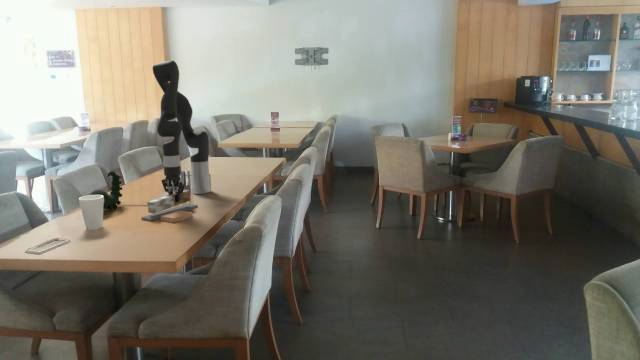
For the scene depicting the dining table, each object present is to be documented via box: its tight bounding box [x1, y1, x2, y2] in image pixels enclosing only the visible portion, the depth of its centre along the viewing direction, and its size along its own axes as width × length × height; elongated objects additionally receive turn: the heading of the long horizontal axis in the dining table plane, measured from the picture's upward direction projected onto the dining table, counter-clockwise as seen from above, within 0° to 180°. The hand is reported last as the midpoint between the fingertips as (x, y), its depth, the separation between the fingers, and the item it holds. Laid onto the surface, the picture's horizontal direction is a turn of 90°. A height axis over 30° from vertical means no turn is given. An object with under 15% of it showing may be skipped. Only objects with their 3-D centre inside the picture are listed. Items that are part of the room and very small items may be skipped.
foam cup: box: [78, 194, 104, 231], centre depth 213 cm, size 10×9×13 cm
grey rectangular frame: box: [24, 237, 71, 255], centre depth 191 cm, size 7×1×15 cm
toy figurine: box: [89, 170, 123, 211], centre depth 240 cm, size 9×19×25 cm
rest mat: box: [141, 203, 199, 222], centre depth 236 cm, size 28×6×1 cm, turn 148°
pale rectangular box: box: [146, 189, 191, 214], centre depth 234 cm, size 22×3×5 cm, turn 148°
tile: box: [160, 210, 194, 223], centre depth 226 cm, size 2×8×11 cm
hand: (174, 201), depth 237 cm, fingers closed on pale rectangular box, 3 cm apart
